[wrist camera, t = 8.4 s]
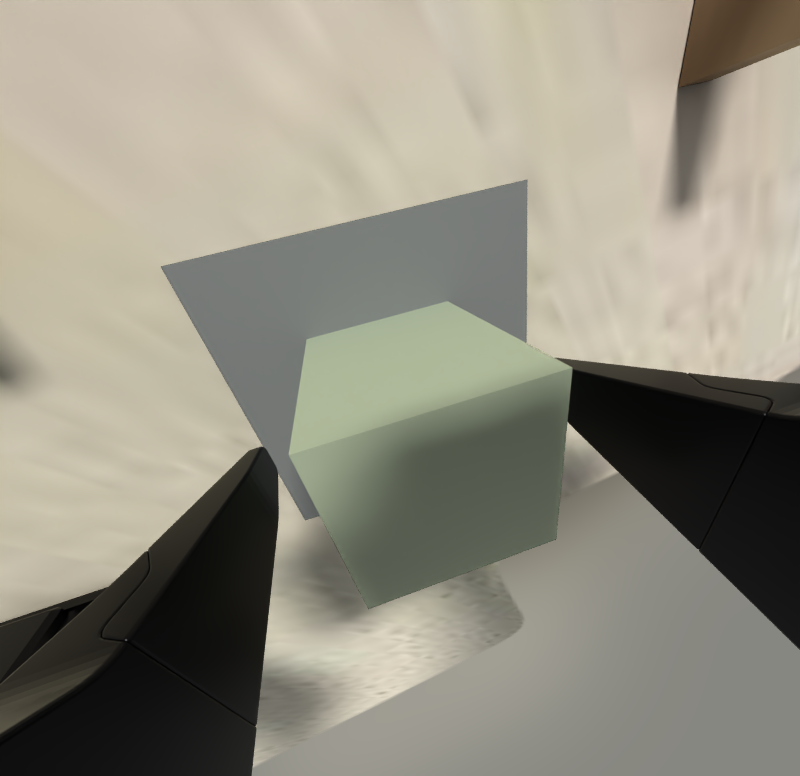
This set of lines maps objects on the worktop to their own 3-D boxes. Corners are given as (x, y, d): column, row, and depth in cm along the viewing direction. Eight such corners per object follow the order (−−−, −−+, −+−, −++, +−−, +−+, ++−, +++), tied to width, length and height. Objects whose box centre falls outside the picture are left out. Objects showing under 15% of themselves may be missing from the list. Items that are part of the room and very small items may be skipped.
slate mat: (521, 441, 15) (525, 446, 15) (305, 513, 14) (305, 520, 14) (519, 181, 10) (527, 179, 9) (167, 265, 8) (160, 266, 8)
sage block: (461, 416, 13) (556, 539, 8) (349, 451, 12) (368, 609, 7) (447, 301, 10) (572, 367, 5) (306, 339, 10) (288, 454, 5)
